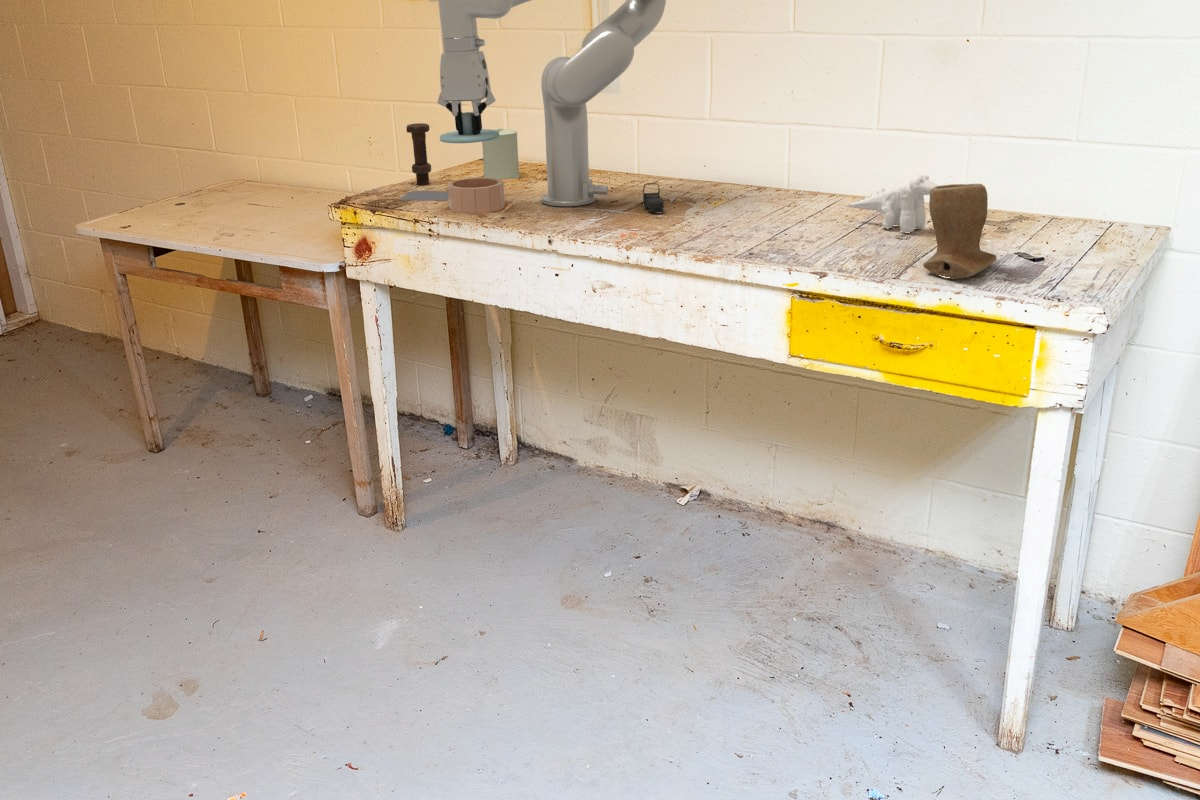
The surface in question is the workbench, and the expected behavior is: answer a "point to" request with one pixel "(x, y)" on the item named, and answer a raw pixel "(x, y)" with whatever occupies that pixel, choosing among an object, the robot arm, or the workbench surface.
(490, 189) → the bowl
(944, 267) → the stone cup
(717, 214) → the workbench surface
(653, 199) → the reflex sight
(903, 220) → the white dinosaur figurine
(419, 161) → the bolt
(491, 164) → the can
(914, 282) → the workbench surface
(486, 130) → the lid
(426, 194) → the mat
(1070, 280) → the workbench surface
